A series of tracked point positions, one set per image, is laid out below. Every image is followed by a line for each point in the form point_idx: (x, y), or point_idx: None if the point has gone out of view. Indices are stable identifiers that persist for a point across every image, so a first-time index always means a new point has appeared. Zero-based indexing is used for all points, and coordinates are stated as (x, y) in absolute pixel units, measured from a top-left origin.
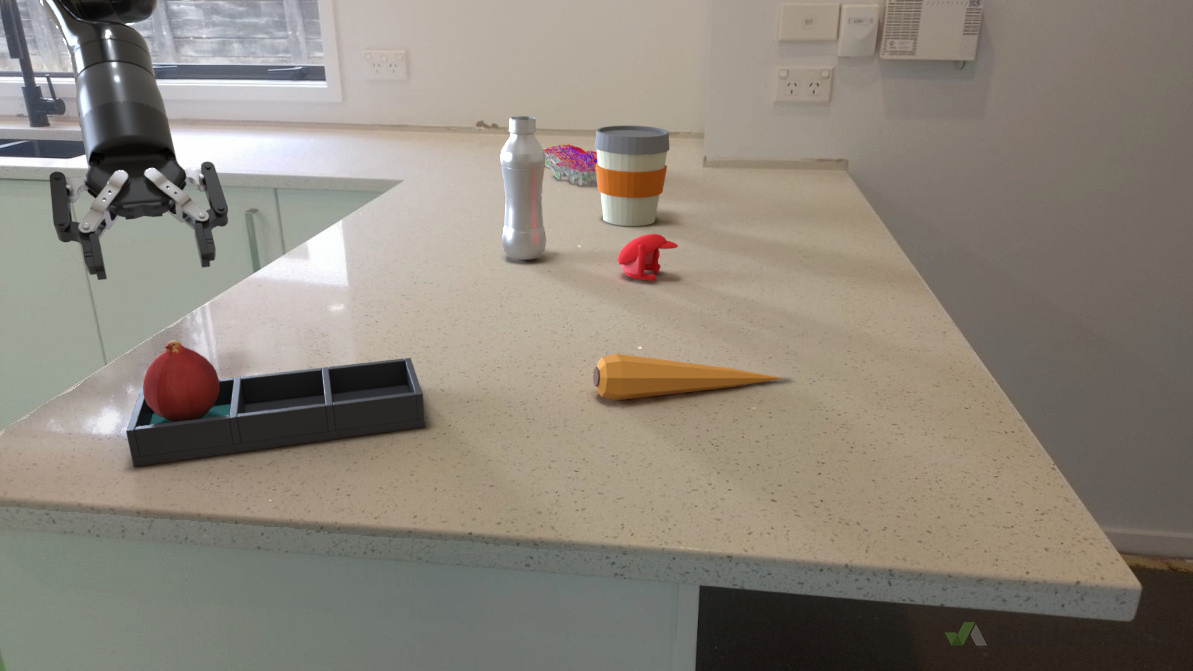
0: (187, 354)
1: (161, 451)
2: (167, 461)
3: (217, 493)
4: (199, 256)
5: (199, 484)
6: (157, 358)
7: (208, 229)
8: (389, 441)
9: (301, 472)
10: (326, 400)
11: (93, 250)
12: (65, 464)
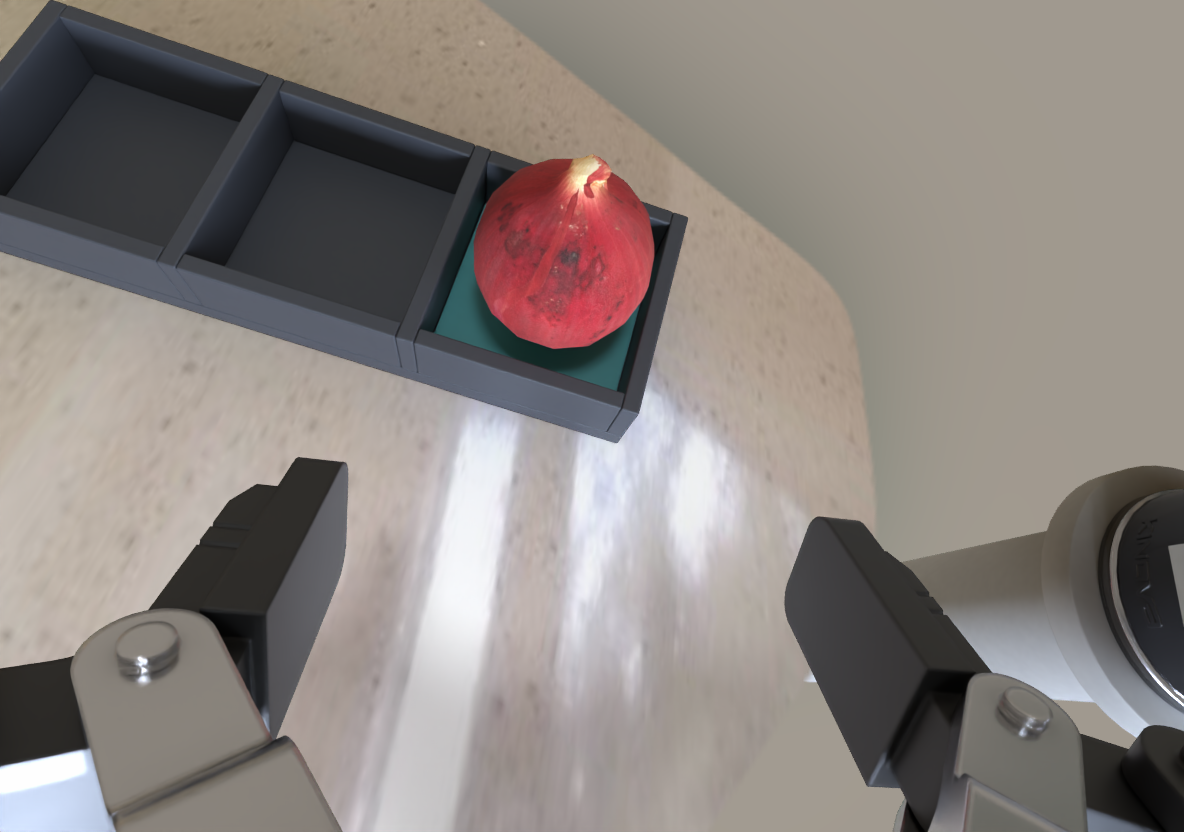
0: (552, 170)
1: None
2: None
3: (551, 106)
4: (325, 604)
5: (571, 147)
6: (626, 208)
7: (177, 601)
8: None
9: (404, 80)
10: (269, 97)
11: (901, 586)
12: (773, 346)
